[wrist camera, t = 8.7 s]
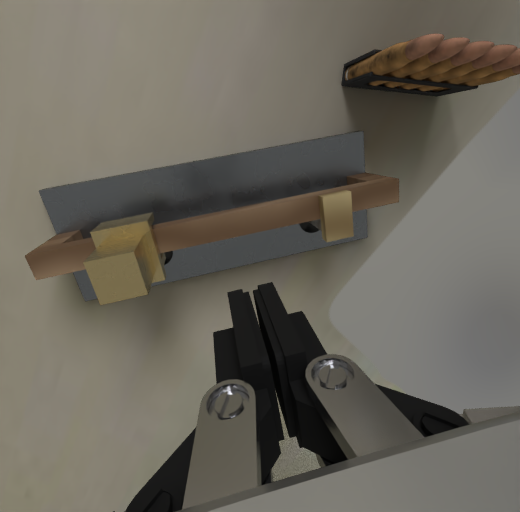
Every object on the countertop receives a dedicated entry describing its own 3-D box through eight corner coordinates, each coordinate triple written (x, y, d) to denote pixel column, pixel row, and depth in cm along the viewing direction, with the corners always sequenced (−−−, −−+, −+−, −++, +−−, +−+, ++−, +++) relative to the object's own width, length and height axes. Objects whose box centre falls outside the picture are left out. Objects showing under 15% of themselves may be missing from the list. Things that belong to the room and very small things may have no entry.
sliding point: (113, 212, 28) (68, 250, 19) (157, 203, 29) (137, 236, 19) (130, 264, 30) (98, 323, 20) (172, 254, 31) (160, 308, 21)
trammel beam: (56, 234, 29) (17, 260, 22) (365, 172, 32) (406, 180, 26) (74, 274, 30) (41, 310, 24) (366, 211, 33) (405, 227, 27)
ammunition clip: (443, 75, 31) (577, 39, 20) (438, 96, 32) (566, 72, 21) (344, 63, 29) (433, 16, 18) (341, 85, 30) (425, 53, 19)
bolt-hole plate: (44, 188, 28) (38, 190, 27) (357, 131, 32) (363, 130, 30) (88, 295, 32) (84, 301, 31) (362, 234, 36) (367, 237, 34)
